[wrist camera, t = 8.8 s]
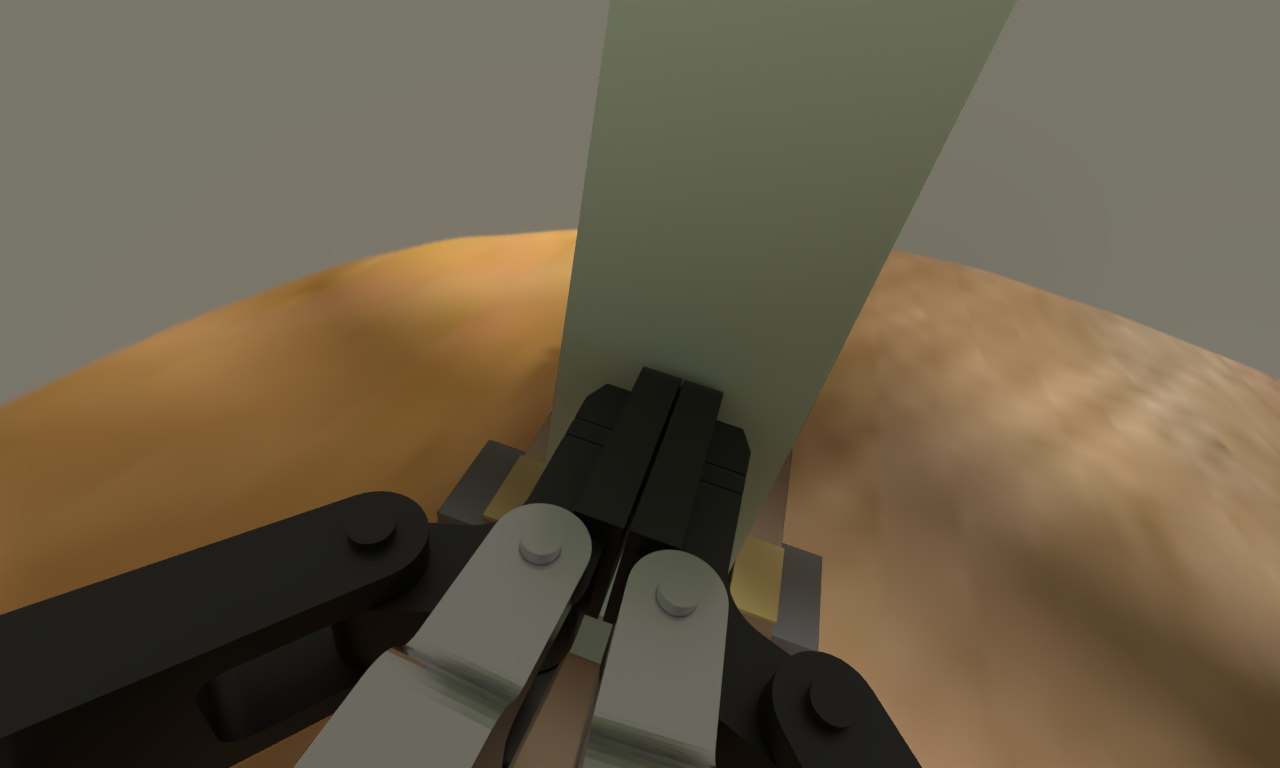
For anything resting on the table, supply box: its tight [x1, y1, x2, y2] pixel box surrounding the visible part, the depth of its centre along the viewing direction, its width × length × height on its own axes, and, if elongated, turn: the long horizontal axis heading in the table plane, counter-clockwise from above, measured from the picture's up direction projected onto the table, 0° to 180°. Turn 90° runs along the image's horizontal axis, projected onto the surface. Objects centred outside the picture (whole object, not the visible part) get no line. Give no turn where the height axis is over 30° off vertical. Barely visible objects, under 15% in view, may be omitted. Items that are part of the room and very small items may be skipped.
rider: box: [544, 0, 1017, 664], centre depth 13 cm, size 6×5×17 cm
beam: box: [437, 412, 822, 768], centre depth 15 cm, size 24×10×3 cm, turn 164°
